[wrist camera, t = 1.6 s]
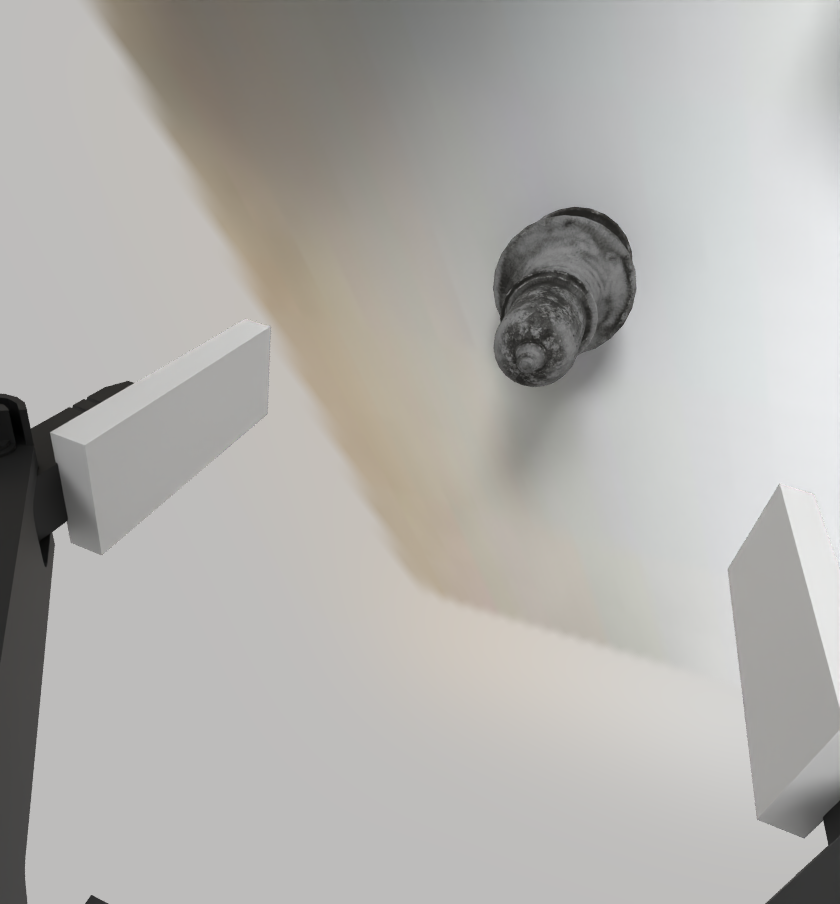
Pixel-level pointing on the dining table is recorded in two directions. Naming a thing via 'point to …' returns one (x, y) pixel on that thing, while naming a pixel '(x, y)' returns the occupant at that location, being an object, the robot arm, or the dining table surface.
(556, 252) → the dark grey tall piece
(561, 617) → the dining table surface
